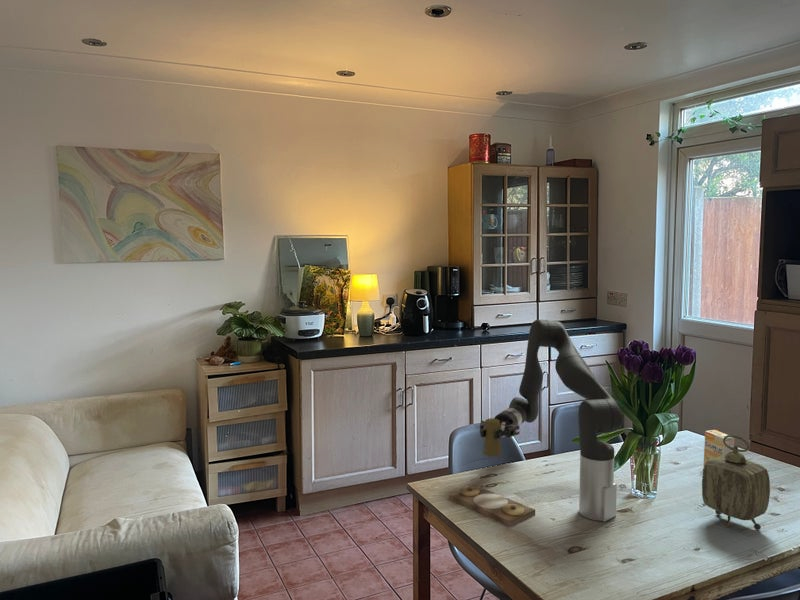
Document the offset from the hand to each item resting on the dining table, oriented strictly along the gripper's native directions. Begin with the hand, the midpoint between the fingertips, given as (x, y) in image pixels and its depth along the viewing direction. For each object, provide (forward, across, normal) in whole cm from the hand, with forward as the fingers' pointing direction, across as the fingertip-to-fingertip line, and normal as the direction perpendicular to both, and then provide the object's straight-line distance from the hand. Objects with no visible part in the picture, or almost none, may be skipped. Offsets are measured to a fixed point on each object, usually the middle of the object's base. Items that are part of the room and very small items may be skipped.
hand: (489, 435), depth 187 cm
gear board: (+12, +5, +17) cm, 22 cm away
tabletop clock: (-9, +67, +18) cm, 70 cm away
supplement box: (-51, +62, +18) cm, 83 cm away
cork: (-3, 0, +7) cm, 7 cm away
